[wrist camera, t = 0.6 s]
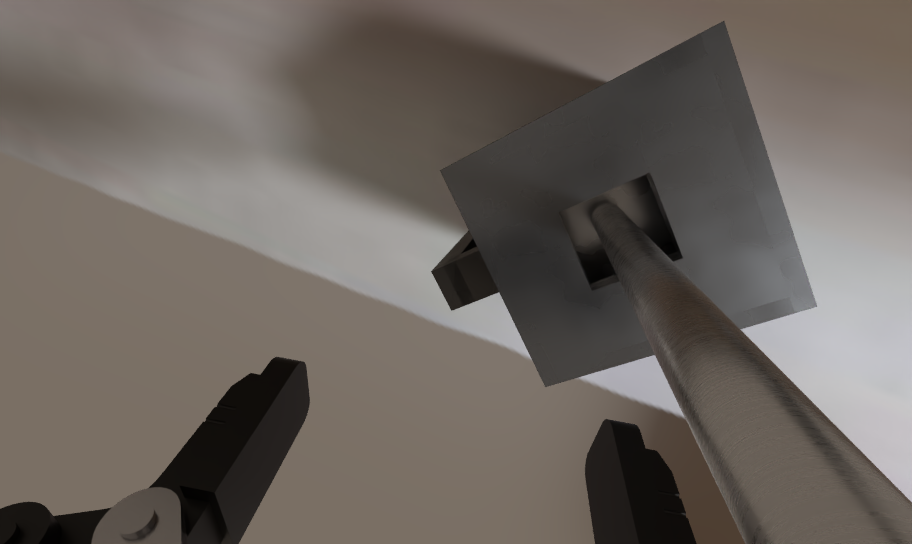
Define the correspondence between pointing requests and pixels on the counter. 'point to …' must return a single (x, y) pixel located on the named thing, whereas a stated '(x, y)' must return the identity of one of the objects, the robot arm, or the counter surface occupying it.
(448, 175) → the square hole block
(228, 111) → the counter surface
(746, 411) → the plunger
